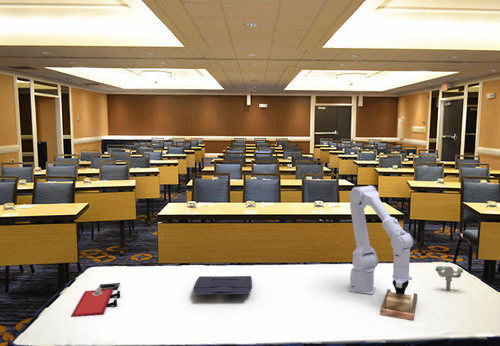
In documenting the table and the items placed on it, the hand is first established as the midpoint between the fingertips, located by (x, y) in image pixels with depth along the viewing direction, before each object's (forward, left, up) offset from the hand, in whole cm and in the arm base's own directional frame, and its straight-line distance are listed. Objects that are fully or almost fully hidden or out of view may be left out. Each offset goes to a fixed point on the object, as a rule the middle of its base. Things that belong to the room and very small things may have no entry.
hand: (400, 299), depth 162 cm
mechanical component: (+17, +24, -3) cm, 29 cm away
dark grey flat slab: (-70, -14, -3) cm, 71 cm away
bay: (0, 0, -2) cm, 2 cm away
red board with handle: (-110, -43, -3) cm, 118 cm away
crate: (0, -5, -2) cm, 6 cm away
